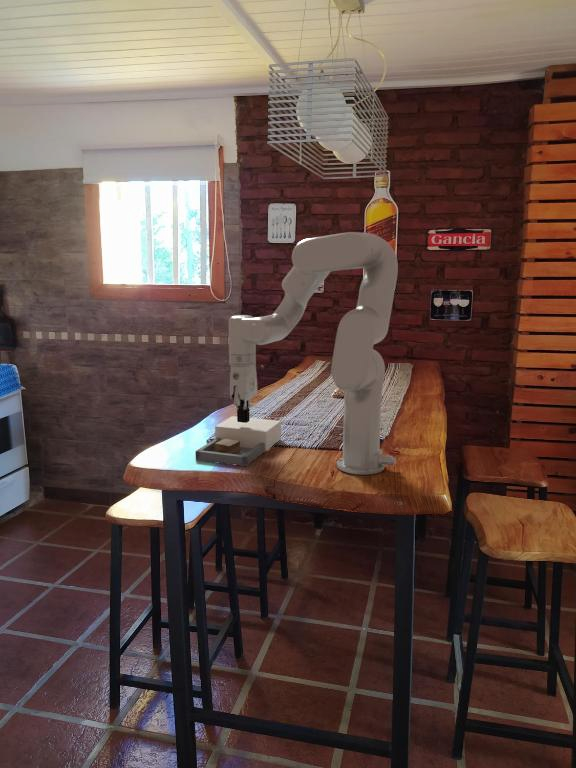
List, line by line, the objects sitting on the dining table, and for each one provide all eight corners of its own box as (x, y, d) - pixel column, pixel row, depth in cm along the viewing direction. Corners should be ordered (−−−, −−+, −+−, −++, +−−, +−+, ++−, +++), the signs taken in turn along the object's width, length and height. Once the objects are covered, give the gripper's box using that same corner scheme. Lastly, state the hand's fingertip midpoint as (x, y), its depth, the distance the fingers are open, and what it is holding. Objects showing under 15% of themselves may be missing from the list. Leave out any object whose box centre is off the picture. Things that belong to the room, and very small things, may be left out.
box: (264, 451, 171) (264, 443, 170) (246, 466, 159) (246, 457, 158) (216, 446, 176) (216, 437, 175) (195, 460, 164) (195, 451, 163)
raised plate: (280, 439, 182) (280, 420, 181) (266, 452, 171) (266, 431, 169) (232, 434, 187) (232, 416, 186) (215, 445, 176) (215, 426, 175)
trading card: (351, 428, 193) (323, 443, 179) (351, 430, 193) (323, 444, 179) (323, 423, 199) (293, 437, 184) (323, 425, 199) (293, 438, 184)
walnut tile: (229, 446, 164) (229, 456, 165) (239, 441, 169) (239, 451, 169) (214, 443, 167) (214, 453, 167) (225, 438, 171) (225, 448, 172)
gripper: (244, 364, 162) (245, 429, 166) (264, 355, 176) (264, 416, 180) (219, 362, 164) (220, 427, 168) (240, 354, 178) (241, 414, 182)
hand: (243, 421), depth 174 cm, fingers closed
